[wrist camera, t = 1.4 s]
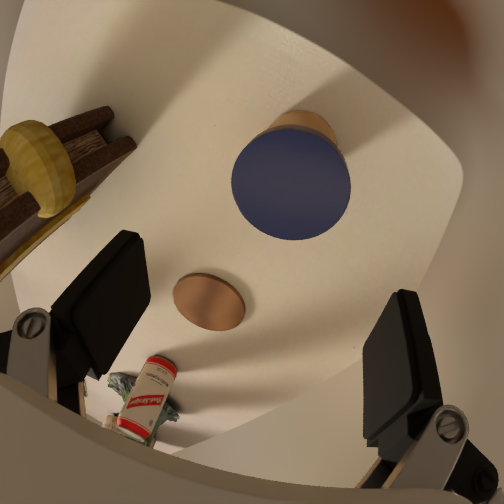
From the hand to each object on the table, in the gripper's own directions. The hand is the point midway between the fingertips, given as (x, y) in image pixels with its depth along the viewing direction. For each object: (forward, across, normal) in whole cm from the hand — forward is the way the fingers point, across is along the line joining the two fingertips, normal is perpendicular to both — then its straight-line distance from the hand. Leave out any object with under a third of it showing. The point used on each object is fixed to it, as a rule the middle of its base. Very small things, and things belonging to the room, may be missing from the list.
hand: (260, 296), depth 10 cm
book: (+20, +25, +6) cm, 33 cm away
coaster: (+20, +8, +22) cm, 31 cm away
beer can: (+20, +17, +42) cm, 50 cm away
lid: (+9, 0, 0) cm, 9 cm away
